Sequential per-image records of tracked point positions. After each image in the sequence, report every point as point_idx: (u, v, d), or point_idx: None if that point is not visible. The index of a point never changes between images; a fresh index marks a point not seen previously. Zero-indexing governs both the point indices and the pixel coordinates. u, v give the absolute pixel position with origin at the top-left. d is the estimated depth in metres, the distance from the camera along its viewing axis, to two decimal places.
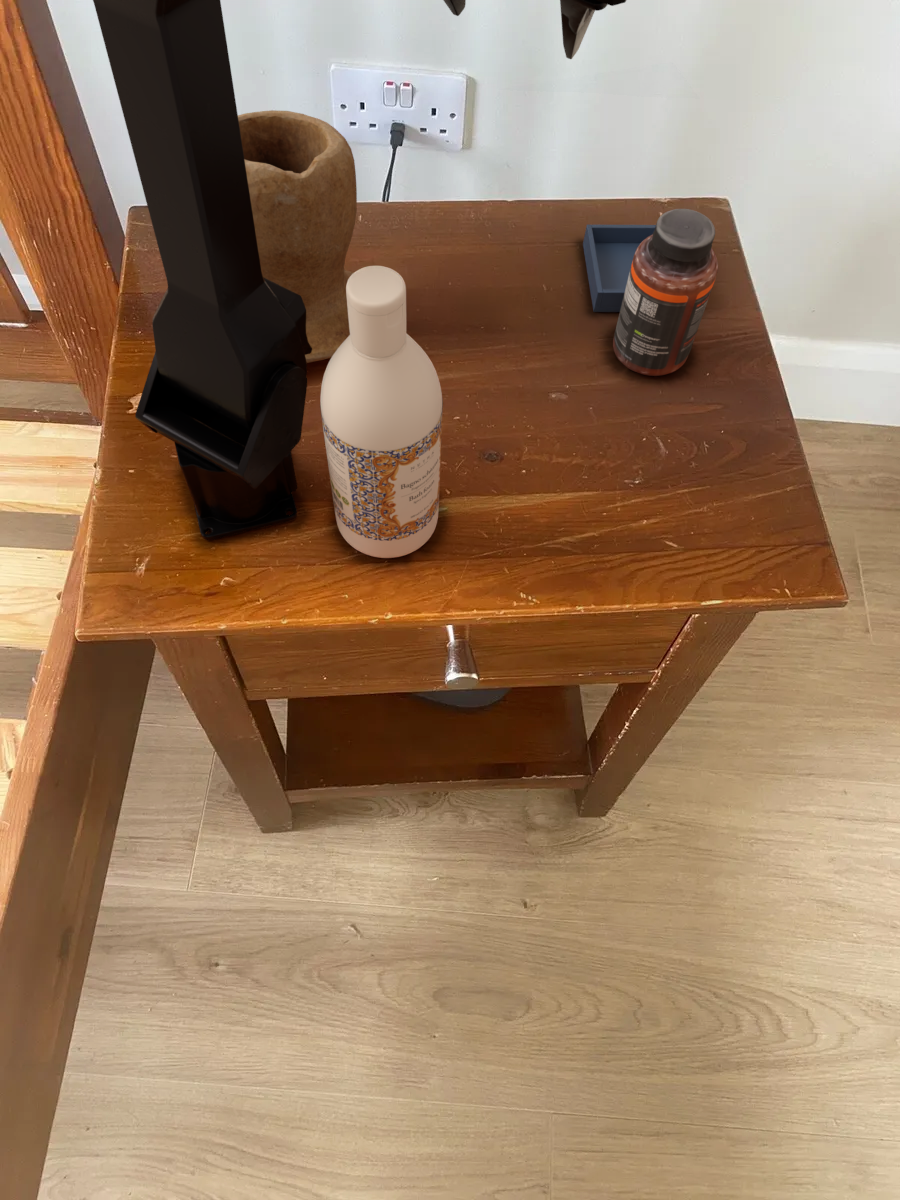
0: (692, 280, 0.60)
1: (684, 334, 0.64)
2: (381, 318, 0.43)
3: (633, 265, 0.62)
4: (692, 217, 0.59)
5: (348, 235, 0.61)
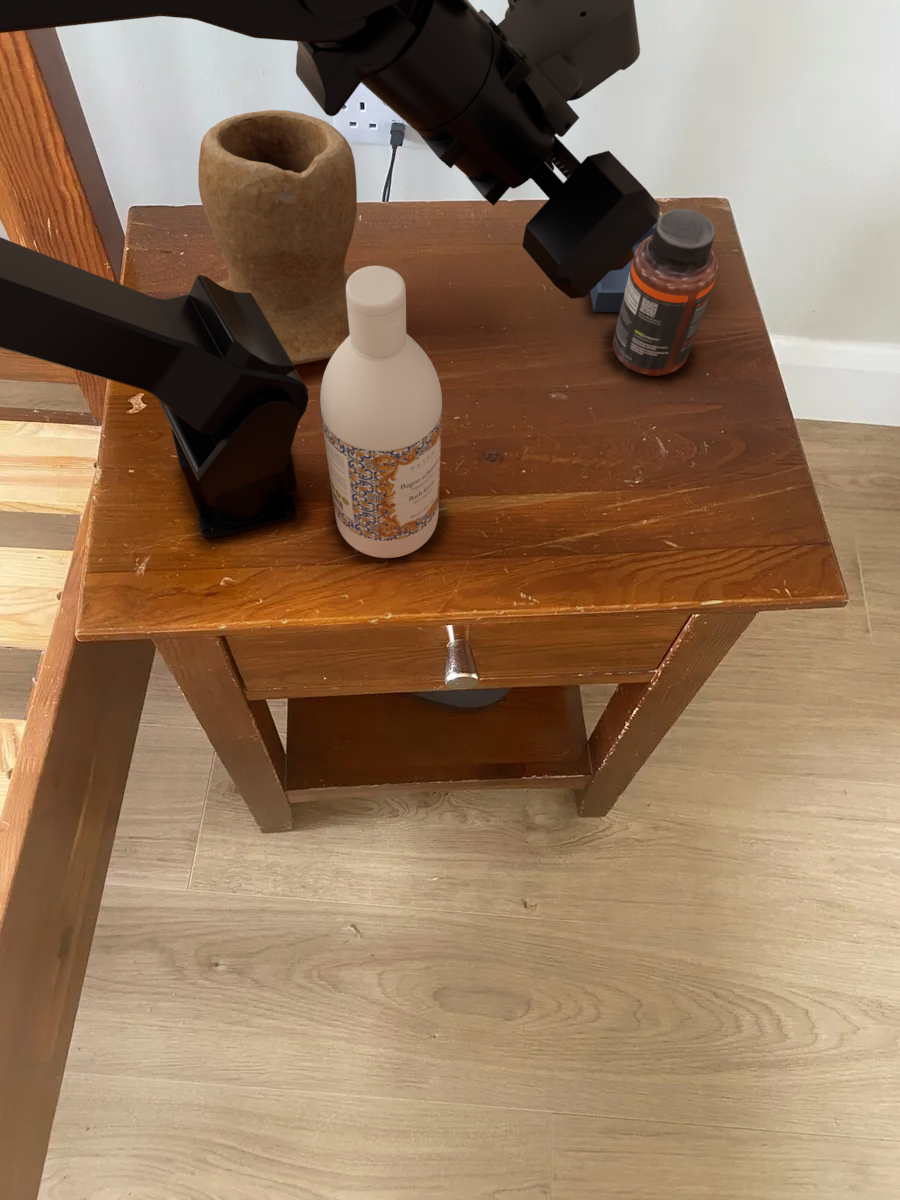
0: (692, 280, 0.60)
1: (684, 334, 0.64)
2: (381, 318, 0.43)
3: (633, 265, 0.62)
4: (692, 217, 0.59)
5: (348, 235, 0.61)
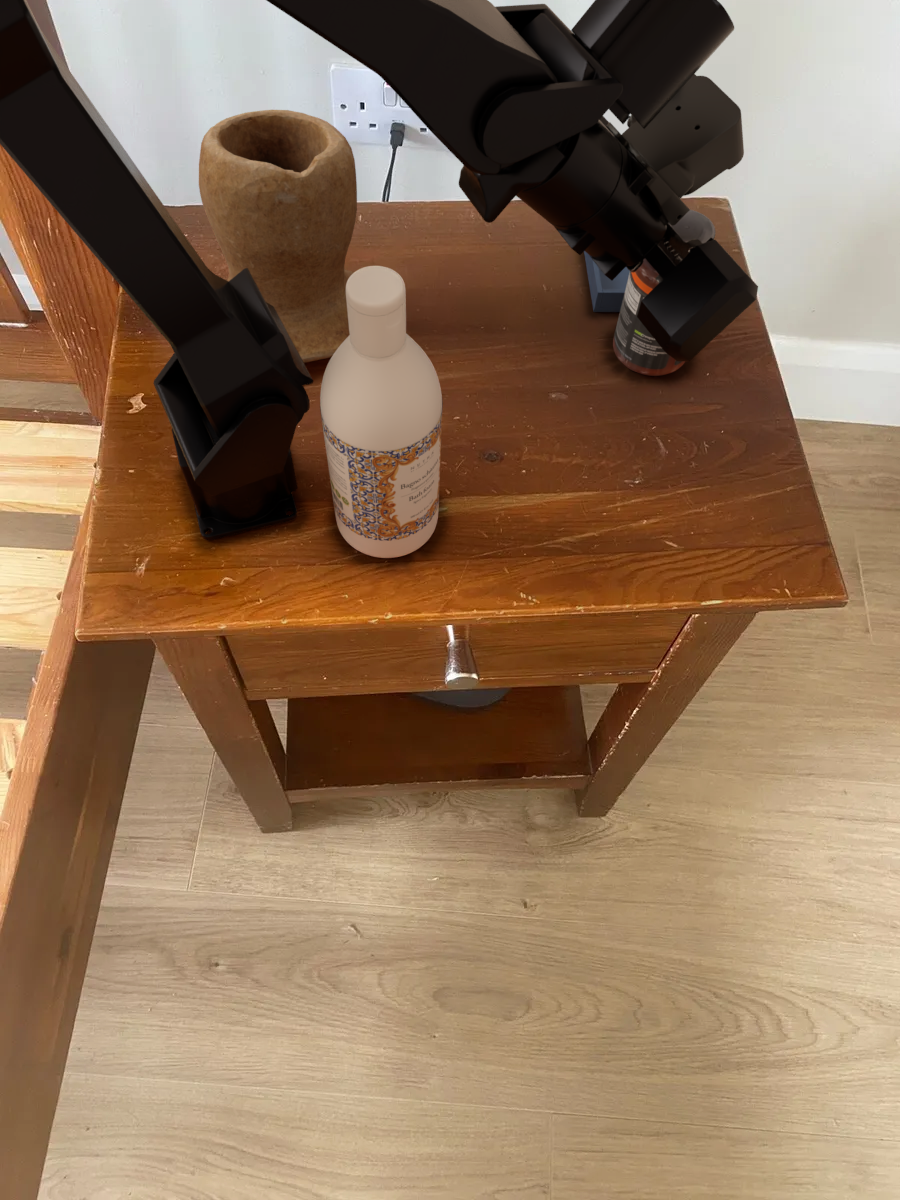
0: None
1: None
2: (381, 318, 0.43)
3: None
4: (692, 217, 0.59)
5: (348, 234, 0.61)
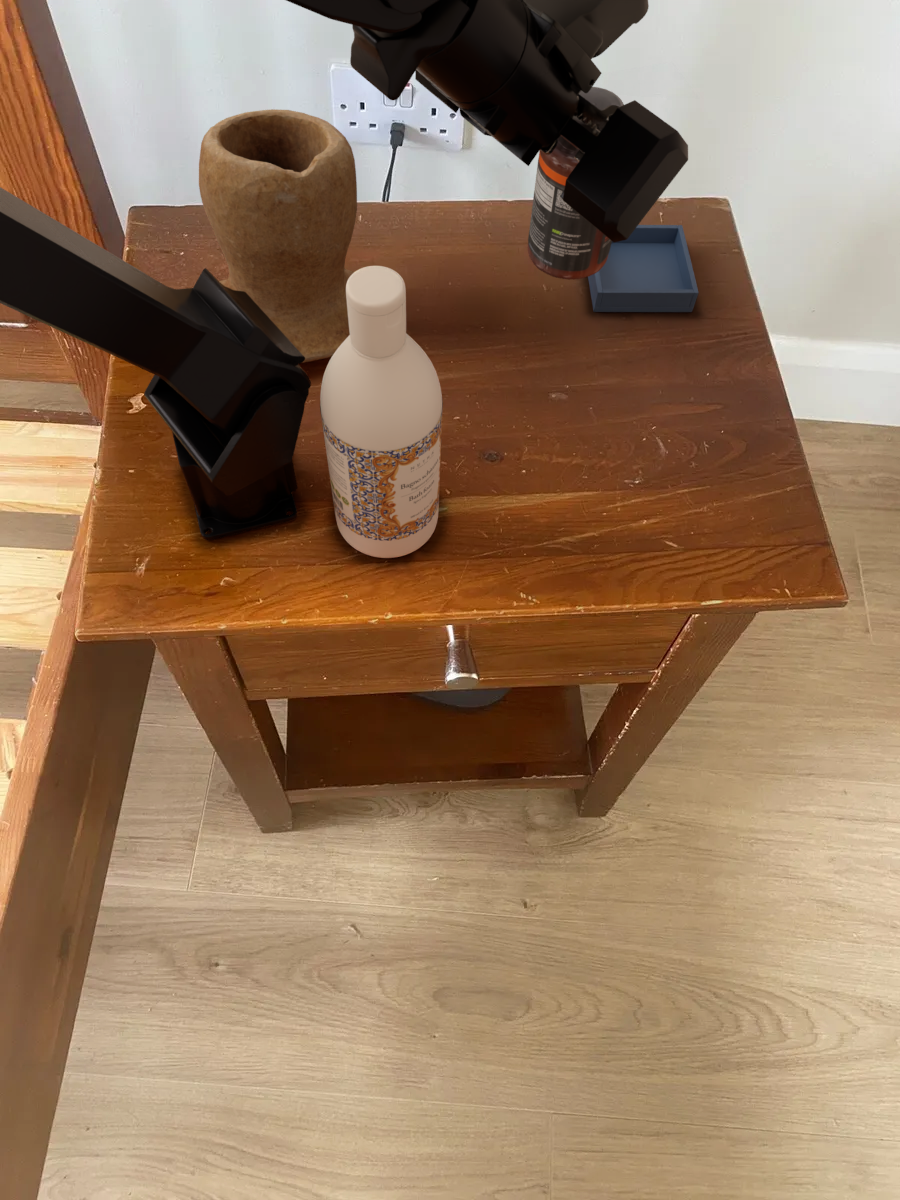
0: None
1: None
2: (381, 318, 0.43)
3: (541, 156, 0.57)
4: (597, 93, 0.55)
5: (348, 234, 0.61)
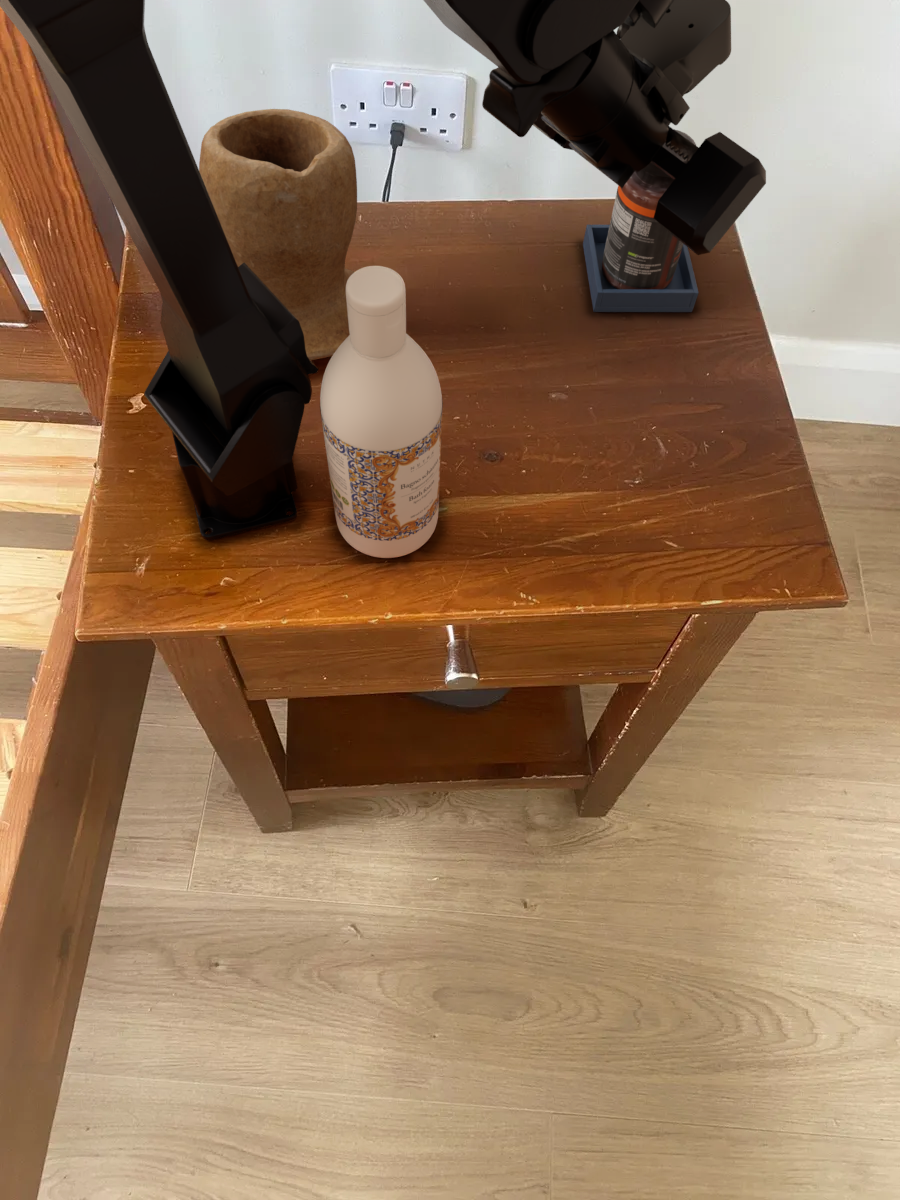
0: None
1: (675, 249, 0.67)
2: (381, 318, 0.43)
3: (621, 189, 0.65)
4: None
5: (349, 234, 0.61)
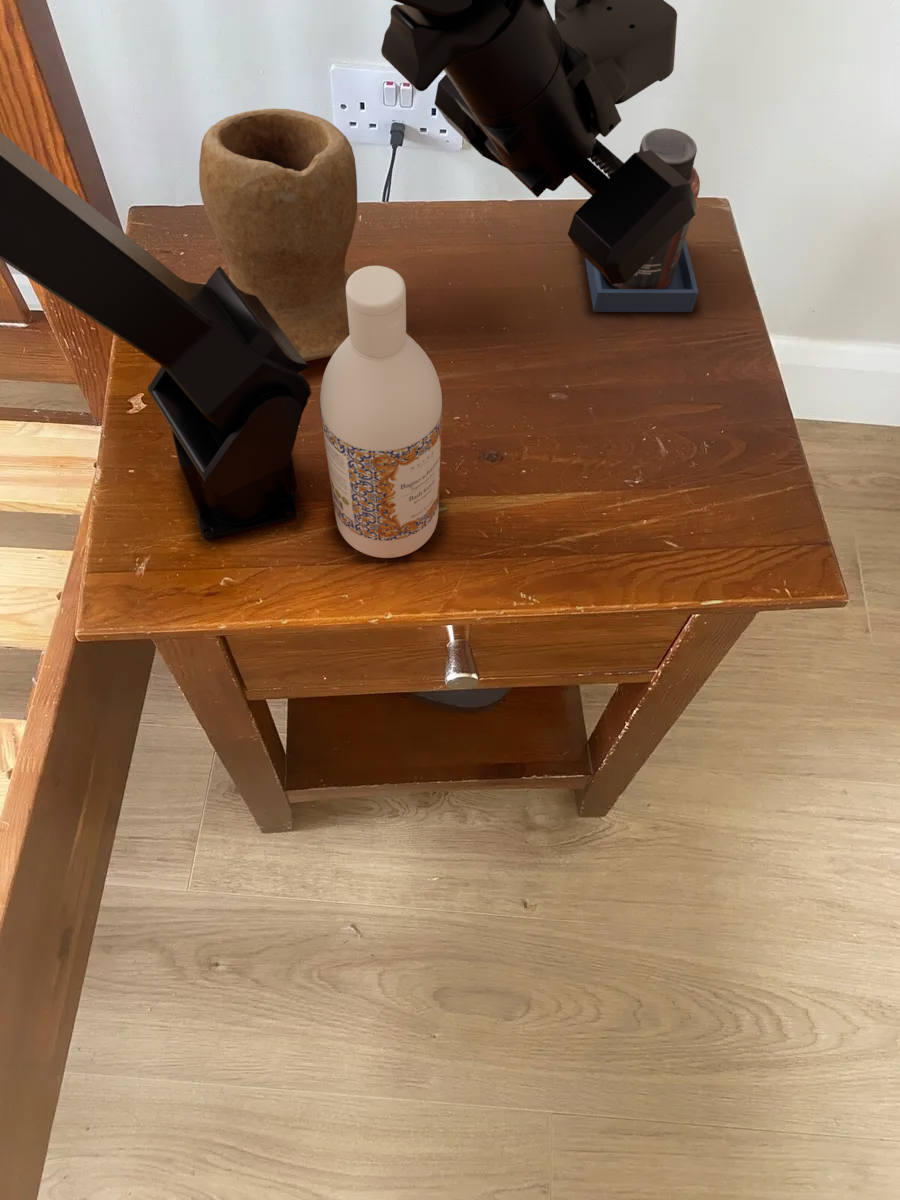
0: None
1: (675, 249, 0.67)
2: (381, 318, 0.43)
3: None
4: (672, 135, 0.63)
5: (349, 233, 0.61)
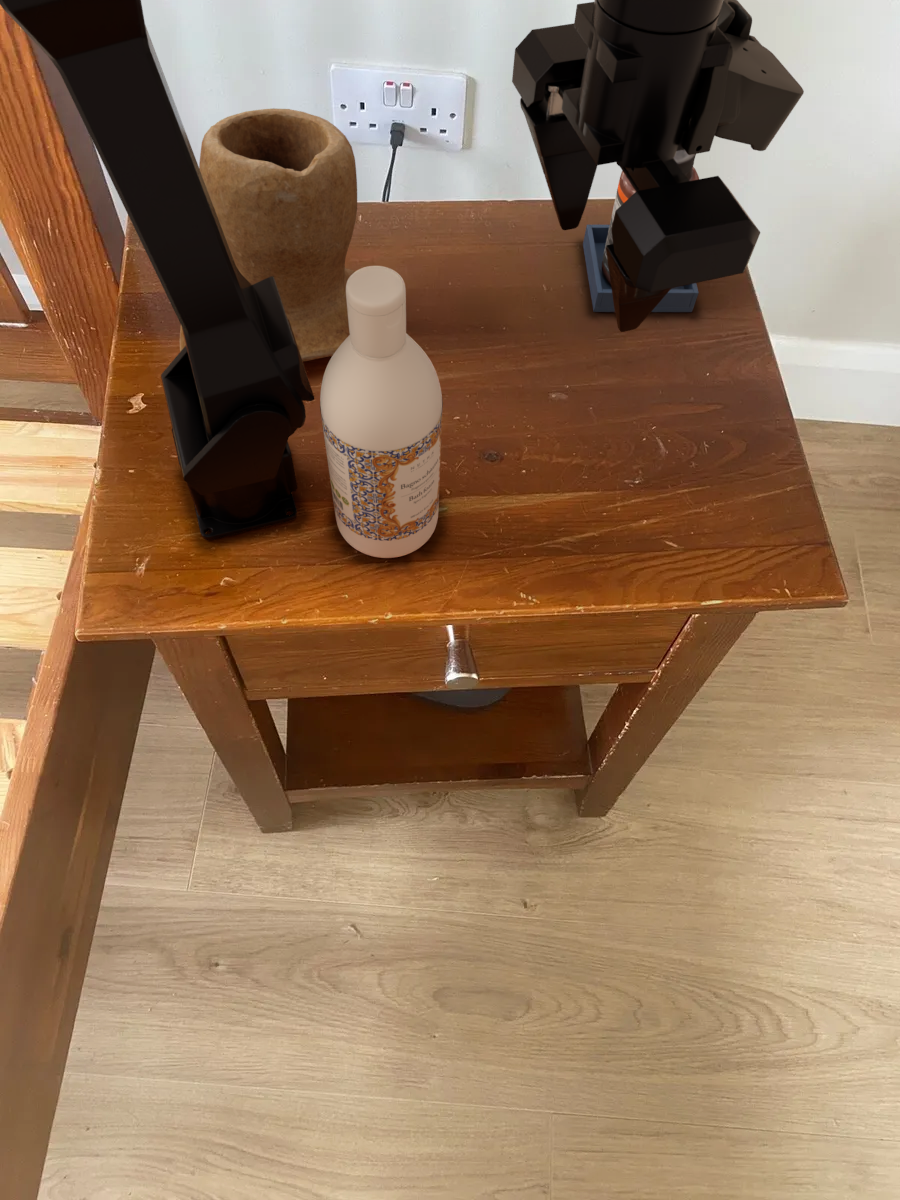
0: None
1: None
2: (381, 318, 0.43)
3: (621, 189, 0.65)
4: None
5: (349, 233, 0.61)
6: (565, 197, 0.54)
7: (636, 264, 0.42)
